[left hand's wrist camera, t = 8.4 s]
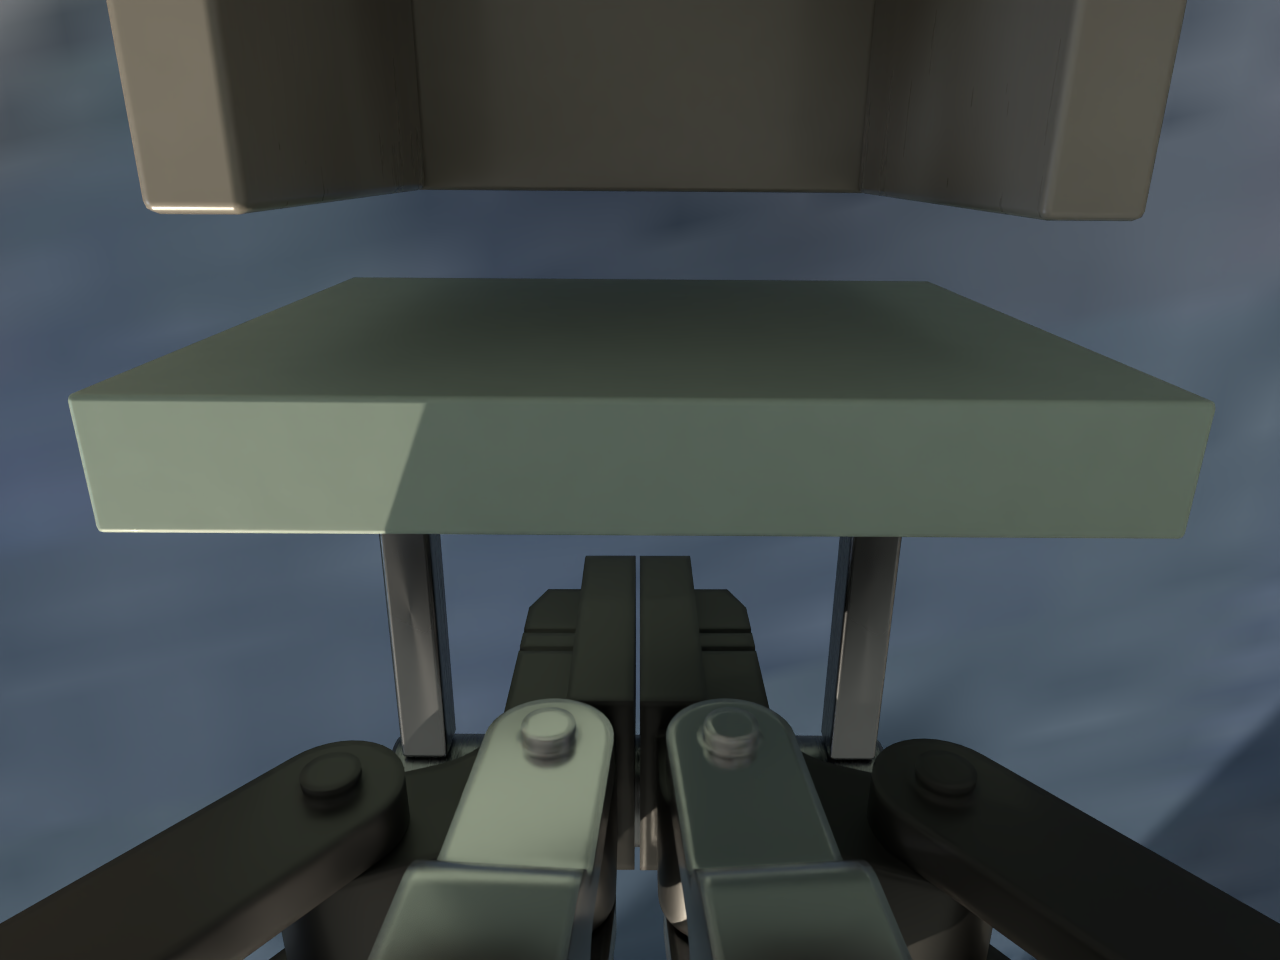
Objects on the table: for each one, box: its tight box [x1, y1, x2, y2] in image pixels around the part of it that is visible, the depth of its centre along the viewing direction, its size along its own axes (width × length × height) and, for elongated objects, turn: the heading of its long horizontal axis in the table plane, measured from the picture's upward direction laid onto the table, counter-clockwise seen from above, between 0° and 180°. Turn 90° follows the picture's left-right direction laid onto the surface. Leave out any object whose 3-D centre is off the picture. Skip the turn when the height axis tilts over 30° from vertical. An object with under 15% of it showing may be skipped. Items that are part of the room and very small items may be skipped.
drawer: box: [68, 0, 1215, 847], centre depth 9 cm, size 20×9×7 cm, turn 0°
